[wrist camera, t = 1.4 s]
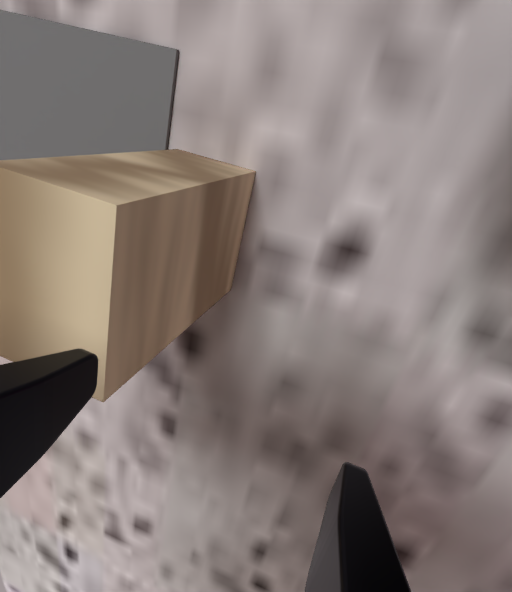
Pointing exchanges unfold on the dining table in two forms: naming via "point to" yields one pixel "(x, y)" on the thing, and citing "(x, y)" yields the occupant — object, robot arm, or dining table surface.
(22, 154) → the placemat
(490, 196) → the dining table surface
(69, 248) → the oak block
